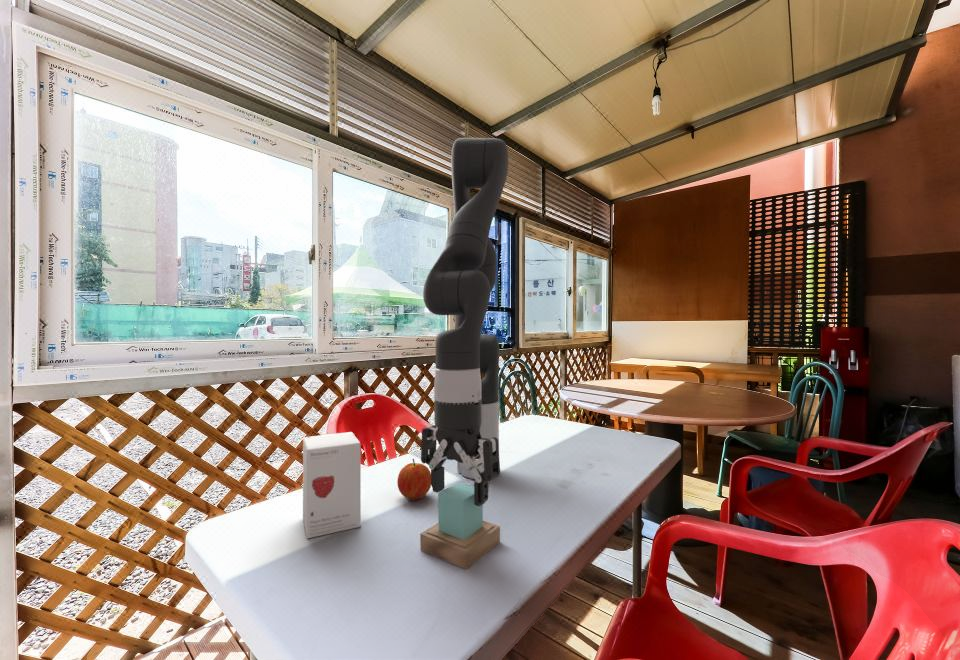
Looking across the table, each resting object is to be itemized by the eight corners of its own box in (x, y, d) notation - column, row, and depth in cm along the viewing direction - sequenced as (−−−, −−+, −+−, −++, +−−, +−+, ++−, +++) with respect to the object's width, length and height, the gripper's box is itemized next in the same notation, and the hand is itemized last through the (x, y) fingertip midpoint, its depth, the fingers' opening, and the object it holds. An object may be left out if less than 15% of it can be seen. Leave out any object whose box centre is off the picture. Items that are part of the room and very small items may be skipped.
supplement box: (305, 540, 65) (304, 449, 65) (302, 517, 73) (301, 436, 73) (362, 527, 69) (361, 441, 69) (353, 507, 77) (352, 430, 77)
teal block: (438, 530, 62) (438, 492, 62) (458, 518, 66) (458, 482, 66) (463, 540, 59) (463, 500, 59) (482, 526, 64) (482, 489, 64)
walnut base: (420, 549, 62) (420, 532, 62) (456, 526, 69) (456, 510, 69) (466, 569, 57) (466, 550, 57) (499, 541, 64) (499, 524, 64)
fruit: (438, 497, 81) (438, 458, 81) (411, 508, 76) (411, 467, 76) (417, 488, 86) (417, 451, 86) (390, 498, 81) (390, 459, 81)
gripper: (409, 395, 64) (410, 494, 64) (480, 405, 56) (481, 519, 56) (439, 388, 70) (440, 479, 70) (508, 397, 62) (509, 500, 62)
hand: (458, 497), depth 63 cm, fingers open, 8 cm apart
